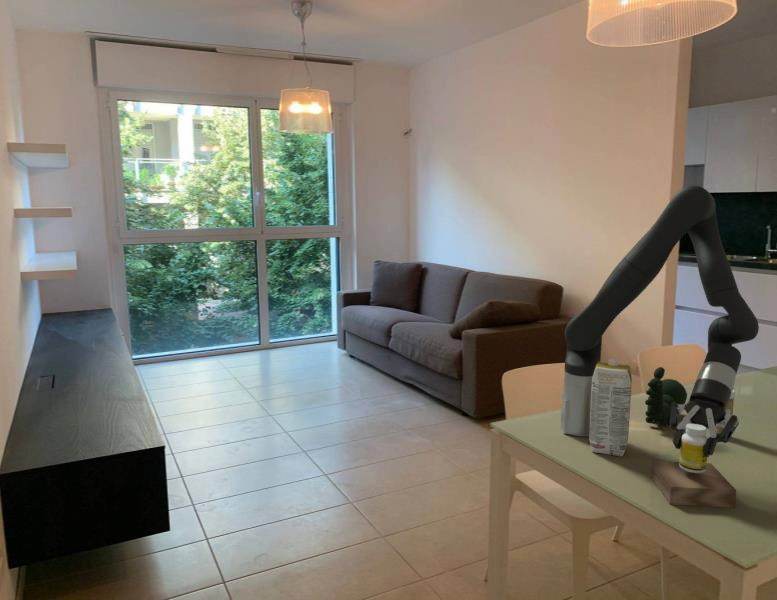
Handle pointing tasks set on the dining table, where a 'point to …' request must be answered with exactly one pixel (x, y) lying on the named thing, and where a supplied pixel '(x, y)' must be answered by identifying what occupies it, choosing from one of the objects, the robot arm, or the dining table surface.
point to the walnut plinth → (693, 485)
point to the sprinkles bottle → (729, 411)
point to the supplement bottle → (693, 449)
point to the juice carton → (610, 408)
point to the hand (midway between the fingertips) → (691, 451)
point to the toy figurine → (663, 397)
